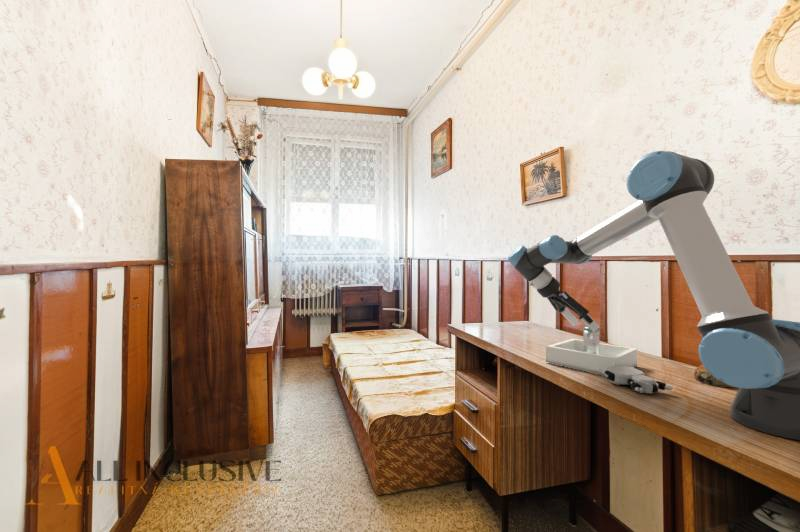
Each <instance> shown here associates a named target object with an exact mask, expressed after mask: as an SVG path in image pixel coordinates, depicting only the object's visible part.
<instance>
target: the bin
mask: <svg viewBox="0 0 800 532" xmlns="http://www.w3.org/2000/svg"><path fill="white" fill-rule="evenodd" d="M546 362H549V363H553V364H558V365H562V366H566V367H569V368H568V369H571V368H573V369H572V370H575V369H577V370H576V371H580V370H582V371H581V372H584V371H586V372H585V373H589V372H591V373H590V374H594V373H597V374H596V375H598V374H601V375H600V376H603V375H604V374H603V373H602V372H601V371H603V372H604V369H605V368H607V367H611V366H627V367H634V368H635V367H637V366H638V349H637V348H635V347H627V346H622V345H621V346H620V345H614V344H610V343H609V344H608V343H602V342H599V355H598V354H593V353H587V352H583V339H577V338H570V339H566V340H563V341H560V342H557V343H552V344H549V345H546V346H545V363H546ZM562 366H561V367H562ZM566 367H565V368H566ZM598 368H599V369H600V370H601V371H600V370H598Z"/></svg>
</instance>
